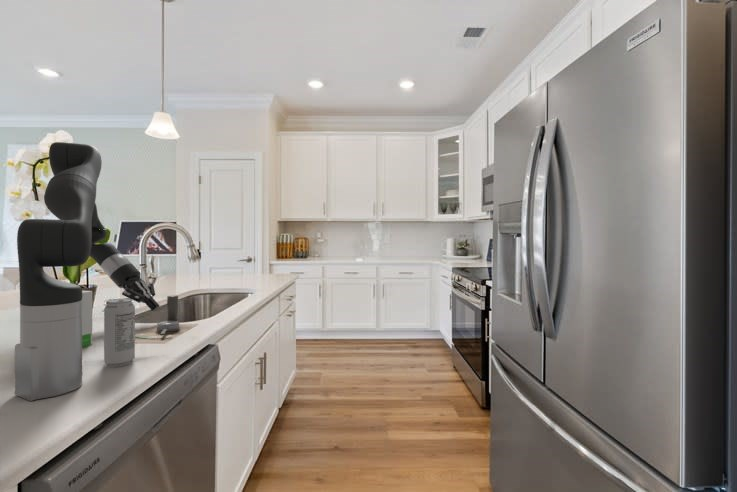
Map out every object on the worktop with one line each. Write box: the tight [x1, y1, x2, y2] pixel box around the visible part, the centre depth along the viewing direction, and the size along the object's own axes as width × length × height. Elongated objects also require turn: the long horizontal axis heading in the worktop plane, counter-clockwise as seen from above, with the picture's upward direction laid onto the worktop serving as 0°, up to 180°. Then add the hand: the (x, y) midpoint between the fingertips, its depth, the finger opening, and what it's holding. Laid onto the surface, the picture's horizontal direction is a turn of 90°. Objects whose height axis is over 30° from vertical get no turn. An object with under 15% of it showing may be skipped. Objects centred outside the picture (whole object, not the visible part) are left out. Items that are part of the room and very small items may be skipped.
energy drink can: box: [103, 298, 136, 368], centre depth 87 cm, size 6×6×15 cm
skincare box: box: [82, 290, 93, 348], centre depth 95 cm, size 8×7×16 cm
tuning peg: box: [156, 295, 180, 335], centre depth 113 cm, size 19×6×9 cm, turn 19°
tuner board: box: [135, 323, 199, 344], centre depth 111 cm, size 22×13×1 cm, turn 2°
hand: (156, 308), depth 121 cm, fingers closed
